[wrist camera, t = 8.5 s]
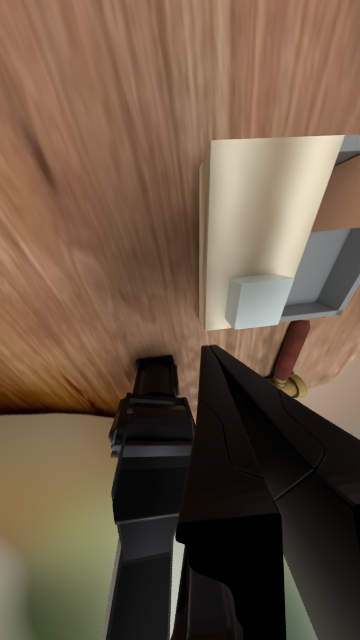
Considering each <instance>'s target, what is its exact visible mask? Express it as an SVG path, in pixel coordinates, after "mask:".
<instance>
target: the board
mask: <svg viewBox="0 0 360 640" xmlns="http://www.w3.org/2000/svg"><path fill="white" fill-rule="evenodd" d="M344 136H345V135H335V136H310V137H284V138H258V139H232V140H211V142H210V144H209V146H208V149H207V151H206V153H205V155H204V158H203V160H202V162H201V165H200V167H199V319H200V321H201V323H202V325H203V327H204V330H205V331H209V330H217V329H226V328H232V327H231V325H230V324H229V323H228V322H227V321H226V319H225V315H226V306H227V297H228V289H229V280H230V278H234V277H244V276H254V275H265V274H278V275H283V276H287V277H291V278H294V277H295V274H296V271H297V268H298V266H299V263H300V260H301V257H302V254H303V252H304V249H305V246H306V243H307V240H308V238H309V235H310V232H311V229H312V226H313V223H314V221H315V218H316V215H317V212H318V209H319V207H320V204H321V201H322V198H323V195H324V193H325V190H326V187H327V184H328V181H329V178H330V176H331V173H332V170H333V167H334V164H335V162H336V159H337V156H338V153H339V150H340V148H341V145H342V142H343V139H344Z"/></svg>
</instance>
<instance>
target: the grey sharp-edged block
mask: <svg viewBox="0 0 360 640" xmlns="http://www.w3.org/2000/svg"><path fill="white" fill-rule="evenodd" d="M294 279H295V278H291V277H287V276H283V275H278V274H265V275H254V276H244V277H234V278H230V280H229V289H228V297H227V306H226V315H225V319H226V321H227V322H228V323H229V324H230V325H231V327H232V328H233V329H234V330H237V329H245V328H254V327H262V326H271V325H278V323H279V320H280V318H281V315H282V312H283V309H284V306H285V304H286V301H287V298H288V295H289V292H290V290H291V287H292V284H293V281H294Z"/></svg>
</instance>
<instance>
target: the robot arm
mask: <svg viewBox="0 0 360 640" xmlns="http://www.w3.org/2000/svg"><path fill="white" fill-rule="evenodd" d="M169 358H170V359H169ZM135 364H136V367H137V369H138V371H137V375H136V380H135V384H134V389H133V394H132V393H128V392H127V396H126V398H124V399H122V400H120V403H119V406H118V410H117V413H116V416H115V419H114V422H113V425H112V427H111V430H110V434H109V439H110V441H111V443H112V445H111V448H113V449H112V454H111V458H118V461H117V466H116V470H115V475H114V481H113V486H112V492H111V493H112V501H113V513H114V521H115V524H116V525H117V527H118V533H119V540H118V546H117V552H116V558H115V563H114V569H113V574H112V581H111V586H110V592H109V597H108V603H107V608H106V614H105V620H104V625H103V631H102V637H101V640H169V639H170V638H169V637H170V613H171V611H170V610H171V586H172V584H171V583H172V556H173V540H174V535H175V533H176V536H175V538H176V541H177V542H179V543H182V544H184V545H185V548H184V555H183V563H182V570H181V578H180V585H179V592H178V600H177V607H176V614H175V622H174V629H173V634H172V637H171V640H286V621H285V593H284V564H283V554H284V557H285V559H286V562H287V564H288V567H289V569H290V572H291V574H292V577H293V579H294V581H295V584H296V587H297V589H298V591H299V594H300V596H301V599H302V601H303V604H304V606H305V609H306V611H307V614H308V616H309V619H310V621H311V624H312V626H313V629H314V631H315V634H316V636H317V638H318V640H360V440H359V439H358V438H356V437H354V436H353V435H351V434H349V433H348V432H346V431H344V430H343V429H341V428H340V427H338V426H336V425H335V424H333V423H332V422H330V421H328V420H327V419H325V418H323V417H322V416H320V415H319V414H317V413H315V412H314V411H312V410H310V409H309V408H308V407H306V406H305V405H303V404H301V403H300V402H299V401H297V400H295V399H294V398H293V397H291V396H290V395H288V394H287V393H285V392H284V391H282V390H281V389H278V387H277V386H275V385H274V384H272V383H271V382H269V381H268V380H266V379H265V378H264V377H262V376H261V375H259V374H258V373H256V372H255V371H253V370H252V369H251V368H249V367H248V366H246V365H245V364H243V363H242V362H241V361H239V360H238V359H236V358H235V357H233V356H232V355H230V354H229V353H228V352H226V351H225V350H223V349H222V348H220V347H219V346H217V345H209V346H208V345H206V346H202V347H201V360H200V376H199V391H198V405H197V417H196V425H195V422H194V419H193V416H192V413H191V410H190V407H189V404H188V401H187V398H186V397H183V398H179V397H176V396H178V395H179V384H178V374H177V366H176V365H174V362H173V356H171V355H169V356H161V357H153V358H145V359H138V360H136V363H135Z"/></svg>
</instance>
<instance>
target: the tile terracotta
mask: <svg viewBox="0 0 360 640" xmlns="http://www.w3.org/2000/svg"><path fill="white" fill-rule="evenodd" d="M359 227H360V155H358V156H356V157H354V158H352V159H350V160H348V161H346V162H343V163H341V164H339V165H337V166H335V167H333V170H332V173H331V176H330V178H329V181H328V184H327V187H326V190H325V193H324V195H323V198H322V201H321V204H320V207H319V209H318V212H317V215H316V218H315V221H314V223H313V226H312V229H311V232H318V231H329V230H339V229H349V228H359Z"/></svg>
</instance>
